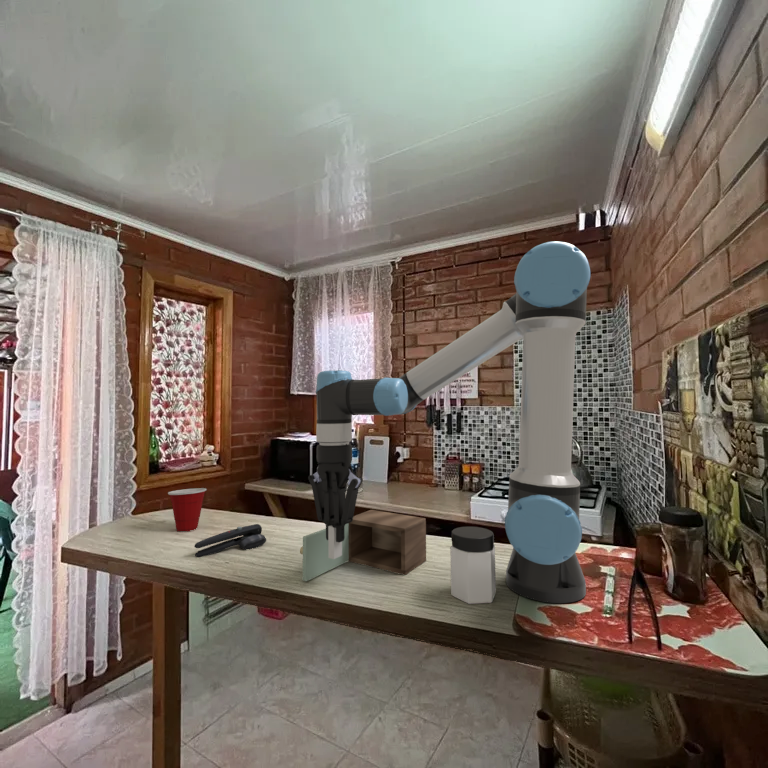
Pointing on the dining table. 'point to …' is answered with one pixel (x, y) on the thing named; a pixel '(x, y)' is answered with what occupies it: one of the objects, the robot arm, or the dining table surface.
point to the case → (387, 541)
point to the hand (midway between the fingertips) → (335, 556)
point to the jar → (473, 565)
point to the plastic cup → (187, 507)
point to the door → (321, 553)
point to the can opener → (232, 540)
